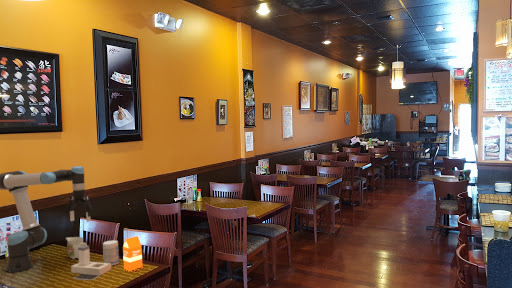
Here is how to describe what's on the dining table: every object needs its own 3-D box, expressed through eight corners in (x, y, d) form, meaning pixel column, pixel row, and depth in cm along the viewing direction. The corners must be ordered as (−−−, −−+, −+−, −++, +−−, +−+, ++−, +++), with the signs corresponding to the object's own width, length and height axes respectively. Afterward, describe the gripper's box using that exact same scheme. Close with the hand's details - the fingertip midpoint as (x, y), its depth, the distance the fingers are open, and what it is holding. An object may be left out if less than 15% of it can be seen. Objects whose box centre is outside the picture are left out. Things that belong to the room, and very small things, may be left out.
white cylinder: (79, 269, 243) (78, 247, 243) (84, 267, 248) (83, 245, 247) (85, 270, 242) (83, 248, 242) (90, 267, 246) (89, 245, 246)
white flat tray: (71, 272, 242) (71, 266, 242) (83, 267, 252) (82, 261, 251) (100, 275, 235) (99, 268, 235) (111, 269, 245) (110, 263, 244)
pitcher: (81, 261, 264) (80, 241, 263) (61, 259, 269) (60, 239, 269) (93, 256, 274) (92, 236, 274) (73, 254, 280) (72, 235, 279)
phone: (91, 281, 227) (91, 279, 227) (73, 279, 231) (73, 277, 231) (99, 277, 234) (99, 275, 234) (82, 275, 238) (82, 273, 238)
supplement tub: (120, 264, 254) (119, 242, 253) (105, 267, 249) (104, 245, 248) (117, 260, 262) (116, 239, 262) (102, 263, 257) (101, 241, 256)
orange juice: (123, 269, 245) (122, 238, 244) (136, 265, 251) (134, 235, 250) (130, 271, 239) (128, 240, 239) (142, 267, 246) (141, 236, 245)
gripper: (59, 190, 258) (61, 221, 259) (89, 190, 250) (91, 223, 251) (68, 188, 265) (70, 219, 266) (98, 188, 257) (99, 220, 258)
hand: (80, 221), depth 258 cm, fingers open, 13 cm apart
